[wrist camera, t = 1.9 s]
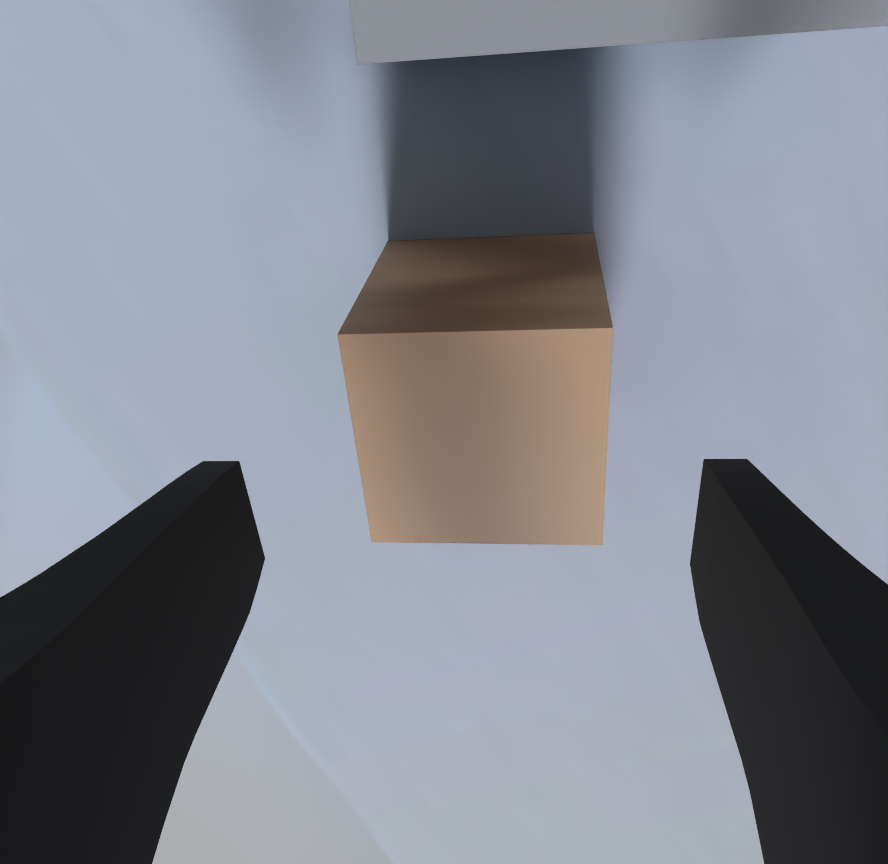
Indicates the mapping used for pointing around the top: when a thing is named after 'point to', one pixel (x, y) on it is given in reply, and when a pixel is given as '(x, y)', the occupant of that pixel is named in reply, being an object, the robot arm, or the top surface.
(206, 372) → the top surface
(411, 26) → the slate base
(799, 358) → the top surface
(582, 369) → the walnut block
